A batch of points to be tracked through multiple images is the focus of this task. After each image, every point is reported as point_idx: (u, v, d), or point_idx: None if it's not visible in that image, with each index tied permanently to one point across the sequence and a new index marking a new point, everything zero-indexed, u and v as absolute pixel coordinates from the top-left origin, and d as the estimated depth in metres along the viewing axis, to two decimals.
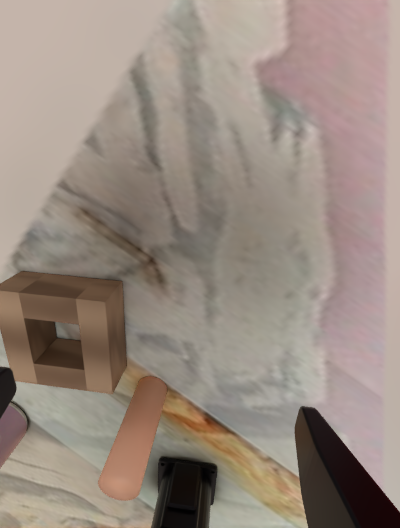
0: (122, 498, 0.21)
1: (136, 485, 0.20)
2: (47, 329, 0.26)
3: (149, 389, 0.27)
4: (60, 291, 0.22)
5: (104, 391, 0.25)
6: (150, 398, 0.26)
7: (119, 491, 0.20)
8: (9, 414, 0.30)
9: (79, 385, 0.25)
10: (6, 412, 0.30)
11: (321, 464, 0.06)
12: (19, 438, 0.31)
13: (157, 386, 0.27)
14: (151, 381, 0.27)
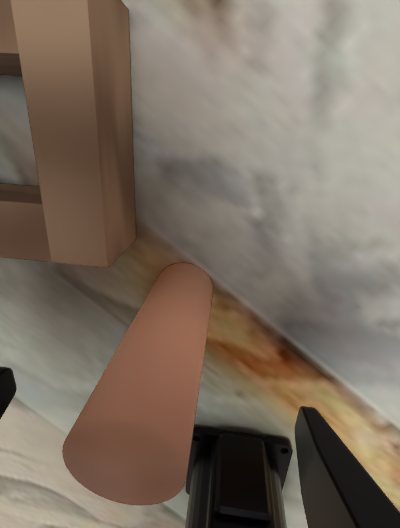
0: (134, 499, 0.07)
1: (177, 460, 0.07)
2: None
3: (184, 276, 0.13)
4: None
5: (89, 261, 0.11)
6: (188, 288, 0.12)
7: (125, 480, 0.07)
8: None
9: (34, 249, 0.11)
10: None
11: (321, 464, 0.06)
12: None
13: (197, 275, 0.14)
14: (185, 268, 0.14)
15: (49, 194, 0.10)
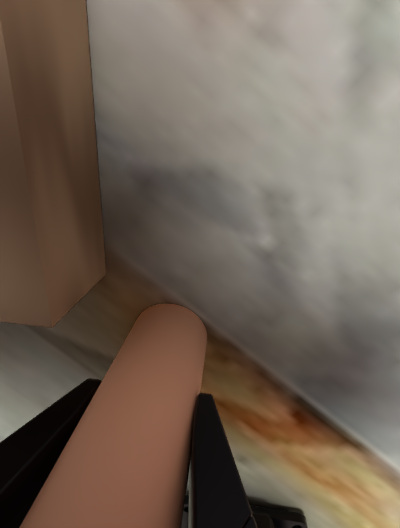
0: None
1: None
2: None
3: (167, 327, 0.10)
4: None
5: (25, 319, 0.08)
6: (171, 348, 0.09)
7: None
8: None
9: None
10: None
11: None
12: None
13: (186, 324, 0.10)
14: (169, 312, 0.10)
15: None
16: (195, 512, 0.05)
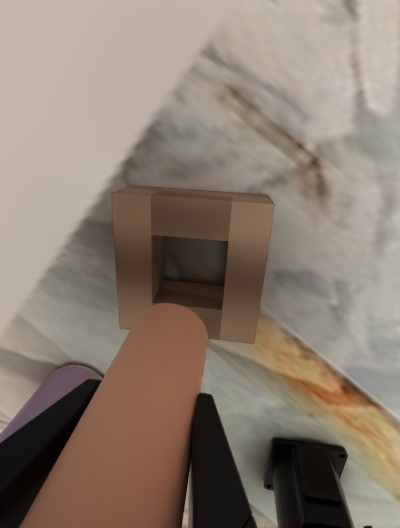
0: None
1: None
2: (160, 264, 0.20)
3: (167, 327, 0.10)
4: (203, 196, 0.16)
5: (243, 340, 0.19)
6: (170, 348, 0.09)
7: None
8: None
9: (210, 332, 0.19)
10: None
11: None
12: None
13: (186, 323, 0.10)
14: (170, 312, 0.10)
15: (227, 305, 0.18)
16: (195, 512, 0.05)
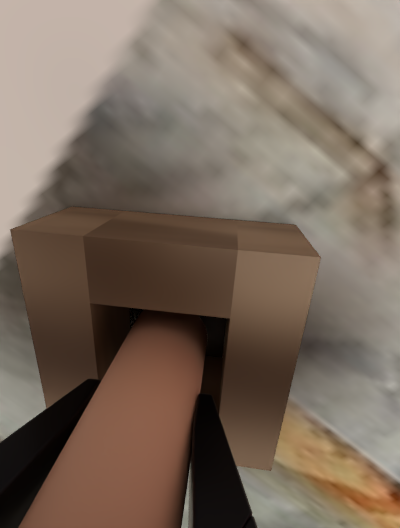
0: None
1: None
2: (120, 331, 0.13)
3: (166, 326, 0.10)
4: (184, 236, 0.09)
5: (253, 465, 0.11)
6: (170, 347, 0.09)
7: None
8: None
9: None
10: None
11: None
12: None
13: (186, 323, 0.10)
14: None
15: (228, 416, 0.10)
16: (195, 512, 0.05)
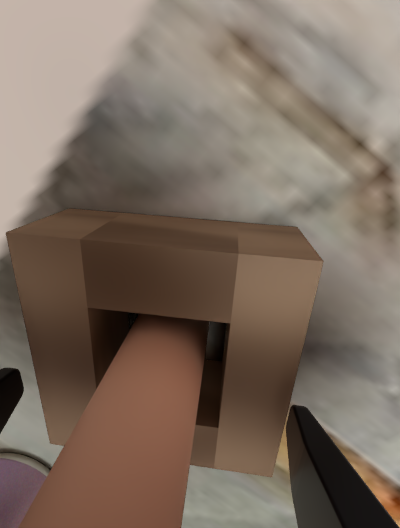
0: None
1: None
2: (119, 334, 0.12)
3: None
4: (184, 239, 0.09)
5: (254, 471, 0.11)
6: (179, 319, 0.10)
7: None
8: (32, 484, 0.17)
9: (199, 458, 0.11)
10: (26, 481, 0.17)
11: (309, 462, 0.06)
12: None
13: None
14: None
15: (228, 422, 0.10)
16: None
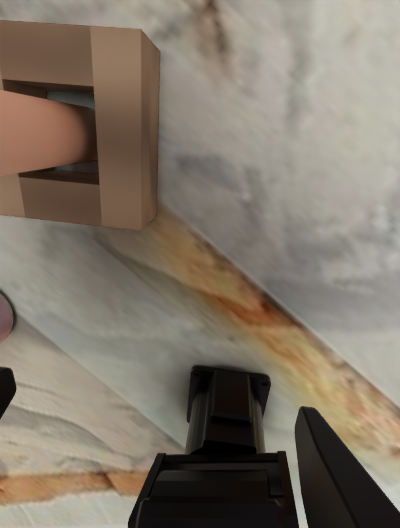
0: None
1: None
2: None
3: None
4: None
5: (129, 226, 0.16)
6: (71, 105, 0.15)
7: None
8: None
9: (91, 217, 0.16)
10: None
11: (321, 464, 0.06)
12: (1, 332, 0.22)
13: (89, 110, 0.16)
14: (80, 106, 0.16)
15: (105, 178, 0.15)
16: None
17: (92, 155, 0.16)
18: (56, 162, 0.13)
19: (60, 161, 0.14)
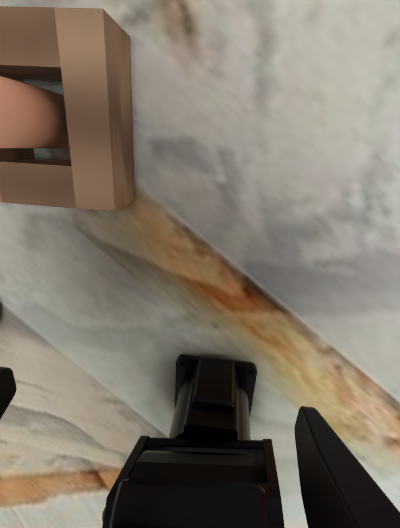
0: None
1: None
2: None
3: (47, 90, 0.16)
4: None
5: (102, 207, 0.16)
6: (42, 89, 0.15)
7: None
8: None
9: (64, 199, 0.16)
10: None
11: (321, 464, 0.06)
12: None
13: (62, 96, 0.17)
14: None
15: (76, 159, 0.15)
16: None
17: (66, 139, 0.17)
18: (24, 140, 0.14)
19: (29, 140, 0.14)
